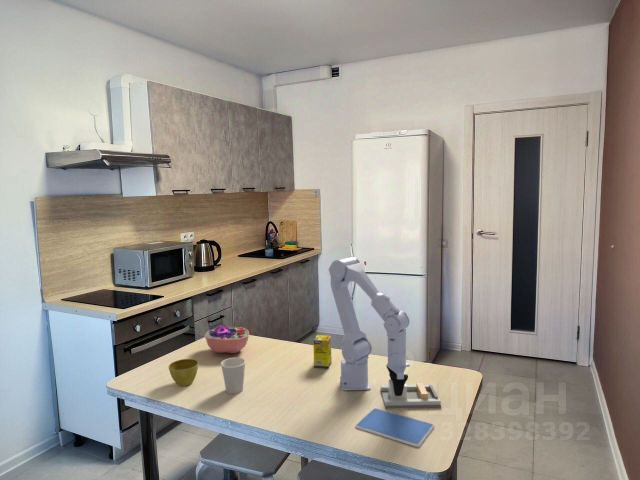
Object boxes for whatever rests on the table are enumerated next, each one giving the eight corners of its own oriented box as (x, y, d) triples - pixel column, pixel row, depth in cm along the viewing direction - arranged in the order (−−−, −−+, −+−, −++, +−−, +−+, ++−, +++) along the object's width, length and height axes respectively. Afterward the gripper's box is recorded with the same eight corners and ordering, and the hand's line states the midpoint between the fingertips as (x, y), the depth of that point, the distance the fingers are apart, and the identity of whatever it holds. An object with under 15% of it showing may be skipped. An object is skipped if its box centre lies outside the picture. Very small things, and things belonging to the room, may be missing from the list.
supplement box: (329, 368, 168) (328, 340, 166) (313, 367, 169) (312, 340, 168) (332, 362, 174) (331, 335, 172) (316, 361, 175) (316, 334, 173)
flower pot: (163, 386, 156) (162, 367, 155) (183, 375, 165) (182, 357, 164) (185, 392, 152) (184, 371, 151) (205, 380, 161) (204, 361, 160)
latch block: (421, 401, 139) (421, 394, 139) (416, 389, 147) (416, 382, 147) (428, 401, 139) (428, 393, 139) (422, 389, 147) (422, 382, 146)
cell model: (231, 363, 175) (230, 335, 174) (196, 354, 186) (195, 327, 185) (259, 349, 189) (258, 323, 188) (225, 341, 200) (224, 317, 199)
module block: (390, 400, 141) (390, 386, 140) (388, 392, 146) (388, 379, 145) (406, 399, 141) (406, 386, 140) (404, 392, 145) (404, 379, 145)
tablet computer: (353, 429, 127) (353, 425, 126) (374, 410, 137) (374, 406, 137) (418, 450, 116) (418, 445, 116) (435, 428, 126) (435, 423, 126)
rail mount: (385, 408, 137) (385, 400, 137) (380, 389, 149) (380, 382, 149) (441, 407, 137) (441, 399, 136) (431, 388, 149) (431, 382, 149)
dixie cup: (232, 383, 158) (230, 355, 156) (251, 387, 154) (250, 359, 153) (216, 393, 150) (215, 364, 149) (237, 397, 146) (235, 368, 145)
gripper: (413, 358, 134) (413, 401, 136) (405, 342, 148) (405, 381, 150) (390, 359, 134) (390, 402, 136) (384, 342, 148) (384, 381, 150)
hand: (397, 391), depth 143 cm, fingers closed on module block, 5 cm apart
